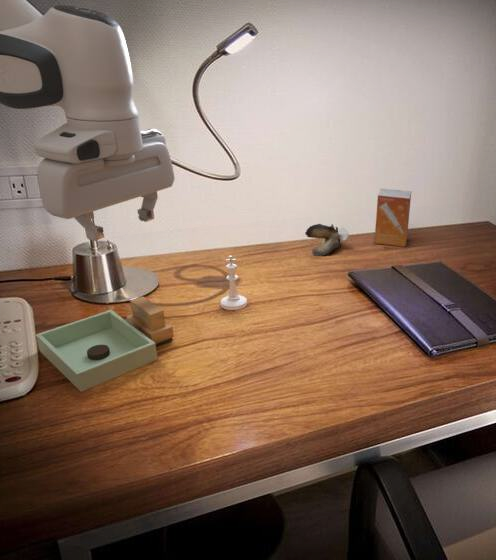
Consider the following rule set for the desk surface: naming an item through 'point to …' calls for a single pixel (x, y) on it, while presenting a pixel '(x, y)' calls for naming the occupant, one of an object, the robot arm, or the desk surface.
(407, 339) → the desk surface
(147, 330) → the brush
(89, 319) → the tray
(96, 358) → the dark brown disc
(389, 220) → the small box
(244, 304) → the chess piece
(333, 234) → the grey brown curved piece
